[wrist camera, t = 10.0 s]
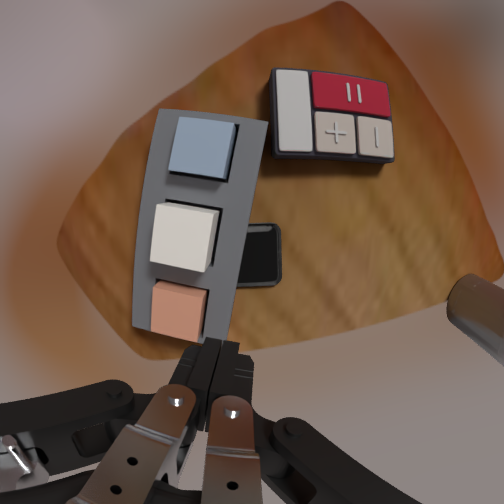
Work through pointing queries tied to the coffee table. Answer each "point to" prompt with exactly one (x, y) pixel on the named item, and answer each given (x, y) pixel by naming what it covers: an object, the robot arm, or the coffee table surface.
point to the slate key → (203, 147)
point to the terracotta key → (178, 310)
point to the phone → (261, 256)
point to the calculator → (329, 117)
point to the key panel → (204, 196)
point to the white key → (183, 236)
